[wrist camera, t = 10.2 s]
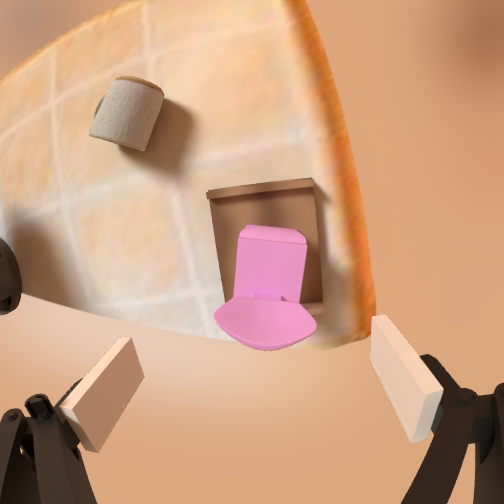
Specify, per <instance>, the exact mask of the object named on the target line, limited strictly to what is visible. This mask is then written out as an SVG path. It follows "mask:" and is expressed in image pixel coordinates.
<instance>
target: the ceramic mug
mask: <svg viewBox="0 0 504 504" xmlns="http://www.w3.org/2000/svg"><path fill="white" fill-rule="evenodd" d="M163 99H164V93H163V91H162V89H161V88H160V87H158V86H157V85H155V84H153V83H151V82H148V81H146V80H143V79H140V78H136V77H131V76H120V77H118V78H116V79H115V80H114V81H113V83H112V84H111V85H110V87H109V89H108V91H107V93H106V94H105V95H104V96H103V97H102V99H101V100H100V102H99V104H98V105H97V108H96V110H95V113H94V117H93V124H92V126H91V129H90V132H89V135H90V136H92V137H95V138H99V139H103V140H106V141H109V142H113V143H116V144H119V145H123V146H126V147H129V148H133V149H136V150H139V151H142V152H144V151H145V150H146V147H147V144H148V141H149V138H150V136H151V133H152V130H153V127H154V125H155V122H156V119H157V116H158V114H159V112H160V109H161V107H162V104H163Z"/></svg>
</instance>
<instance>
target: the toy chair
mask: <svg viewBox="0 0 504 504" xmlns="http://www.w3.org/2000/svg"><path fill="white" fill-rule="evenodd" d="M306 253H307V244H306V238H305V237H304V236H303V235H302V234H301V233H300V231H299V230H296V229H288V228H279V227H269V226H259V225H246V226H245V229H243V230H242V231H241V232H240V235H239V238H238V247H237V260H236V272H235V284H234V296H233V298H232V299H231V300H229V301H228V302H226V303H225V304H223V305H222V306H221V307H219V308H218V309H217V310H216V311H215V313H214V320H215V321H216V323H217V325H218V326H219V327H220V328H221V329H222V330H224V331H225V332H226V333H227V334H228V335H230V336H231V337H233V338H234V339H235V340H237V341H239V342H240V343H242V344H244V345H246V346H248V347H250V348H253V349H257V350H263V351H272V350H279V349H282V348H286V347H288V346H291V345H293V344H296V343H298V342H300V341H302V340H304V339H305V338H307V337H308V336H310V335H311V334H313V332H314V331H315V330H316V328H317V323H316V321H315V319H314V318H313V317H312V316H311V314H310V313H309V312H308V311H307V310H306V309H305V308H304V307H303V306H302V305H301V304H299V301H300V294H301V287H302V280H303V273H304V267H305V260H306Z"/></svg>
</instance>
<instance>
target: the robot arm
mask: <svg viewBox="0 0 504 504" xmlns="http://www.w3.org/2000/svg"><path fill="white" fill-rule="evenodd" d="M20 299H21V280H20V274H19V270H18V266H17V263H16V261H15V258H14V256H13V254H12V252H11V250H10V249H9V247H8V246H7V244H6V243H5V242H4V241H3V240H2V239H1V238H0V315H5V314H8V313H9V312H11V311H13V310H15V309H16V308H17V306H18V305H19V302H20ZM370 362H371V364H372V366H373V367H374V369H375V371H376V373H377V375H378V377H379V379H380V381H381V383H382V385H383V387H384V389H385V391H386V393H387V395H388V397H389V399H390V401H391V403H392V405H393V407H394V409H395V411H396V413H397V415H398V417H399V419H400V422H401V424H402V426H403V428H404V430H405V432H406V434H407V437H408V439H409V441H410V443H411V444H413V443H416V442H419V441H422V440H425V439H427V438H428V436H429V433H430V430H432V432H433V434H434V437H433V440H432V442H431V444H430V447H429V449H428V451H427V454H426V456H425V458H424V460H423V462H422V464H421V466H420V468H419V470H418V472H417V474H416V476H415V478H414V480H413V482H412V485H411V486H410V488H409V490H408V492H407V493H406V495H405V497H404V499H403V500H402V502H401V504H447V503H448V500H449V498H450V495H451V493H452V490H453V488H454V485H455V483H456V480H457V477H458V475H459V472H460V469H461V466H462V463H463V459H464V457H465V454H466V450H467V447H468V444H471V443H475V455H476V456H475V487H474V500H473V504H504V383H501V384H499V385H498V386H497V387H496V388H495V391H494V393H493V394H489V395H481V396H478V395H477V394H476V392H474V391H473V390H470V389H467V388H460V387H459V385H458V384H457V383H456V382H455V380H454V379H453V378H452V377H451V376H450V374H449V373H448V372H447V371H446V370H445V368H444V367H443V366H442V365H441V363H440V362H439V361H438V360H437V359H436V358H434V357H433V356H431V355H429V354H426V355H422V356H418V355H417V353H416V352H415V351H414V349H413V348H412V347H411V346H410V344H409V343H408V342H407V341H406V339H405V338H404V337H403V336H402V335H401V333H400V332H399V331H398V329H397V328H396V327H395V326H394V324H392V322H391V321H390V320H389V319H388V317H387V316H386V315H379V316H373V317H372V329H371V349H370ZM143 378H144V374H143V371H142V368H141V365H140V362H139V359H138V356H137V353H136V350H135V347H134V344H133V341H132V338H131V337H120V338H119V339H118V340H117V341H116V343H115V344H114V345H113V346H112V347H111V348H110V349H109V350H108V351H107V353H106V354H105V355H104V356H103V357H102V358H101V359H100V360H99V362H98V363H97V364H96V365H95V366H94V367H93V368H92V369H91V370H90V372H89V373H88V374H87V375H86V376H85V377H84V378H82V379H80V380H79V381H77V382H76V383H74V385H73V386H72V387H71V388H70V390H68V391H67V392H66V395H64V396H63V397H62V398H61V399H60V401H59V402H58V403H57V404H56V405H55V406H54V407H53V406H52V405H51V403H50V401H49V399H48V397H47V396H46V395H44V394H36V395H33V396H31V397H30V398H28V399H27V401H26V402H25V407H26V408H27V410H28V412H29V414H30V415H31V417H25V416H24V414H23V413H22V411H21V410H20V409H16V408H15V409H10V410H8V411H7V412H6V413H5V414H4V415H3V417H2V420H1V422H0V504H97V502H96V499H95V496H94V494H93V491H92V488H91V485H90V482H89V479H88V476H87V473H86V470H85V467H84V463H83V460H82V456H81V453H80V450H79V449H78V447H77V445H78V444H79V442H81V444H82V445H83V447H84V448H85V450H88V451H91V452H95V453H99V451H100V450H101V448H102V446H103V444H104V443H105V441H106V439H107V438H108V436H109V434H110V433H111V431H112V429H113V428H114V426H115V424H116V423H117V421H118V419H119V418H120V416H121V414H122V413H123V411H124V409H125V408H126V406H127V404H128V402H129V401H130V399H131V398H132V396H133V395H134V393H135V391H136V390H137V388H138V386H139V385H140V383H141V381H142V380H143ZM20 448H21V449H22V450H23V452H22V454H21V452H20Z"/></svg>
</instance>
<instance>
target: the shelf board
mask: <svg viewBox="0 0 504 504" xmlns="http://www.w3.org/2000/svg"><path fill="white" fill-rule="evenodd" d="M313 186H314V179H312V178H303V179H293V180H284V181H275V182H266V183H258V184H250V185H242V186H235V187H228V188H221V189H214V190H208V192H206V195H207V199H209V201H210V208H211V215H212V222H213V229H214V235H215V242H216V249H217V255H218V261H219V268H220V274H221V280H222V286H223V292H224V298H225V303H226V302H228V301H229V300H231V299H232V298H233V296H234V284H235V272H236V260H237V247H238V238H239V235H240V232H241V231H242V230H243V229H245V226H246V225H259V226H269V227H279V228H288V229H296V230H299V231H300V233H301V234H302V235H303V236H304V237H305V238H306V244H307V253H306V260H305V267H304V273H303V280H302V287H301V294H300V301H299V304H301V305H302V306H303V307H304V308H305V309H306V310H307V311H308V312H309V313H310V314H311V316H312V315H320V314H325V306H324V304H323V300H322V283H321V267H320V254H319V242H318V230H317V219H316V209H315V200H314V191H313Z"/></svg>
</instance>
